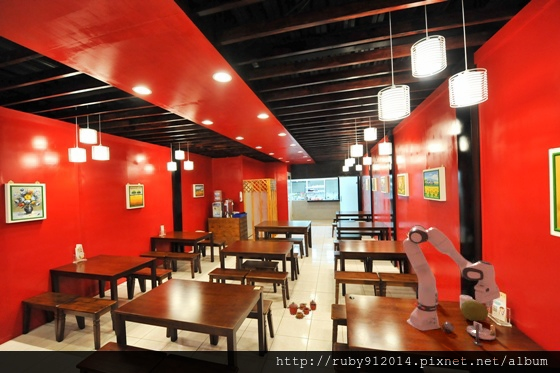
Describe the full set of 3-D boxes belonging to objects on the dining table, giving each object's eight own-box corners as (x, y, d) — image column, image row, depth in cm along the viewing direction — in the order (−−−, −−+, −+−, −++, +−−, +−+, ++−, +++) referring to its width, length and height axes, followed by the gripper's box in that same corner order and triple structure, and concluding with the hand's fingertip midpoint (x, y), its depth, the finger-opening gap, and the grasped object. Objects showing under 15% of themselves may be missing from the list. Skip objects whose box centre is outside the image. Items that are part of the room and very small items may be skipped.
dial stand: (479, 346, 156) (478, 325, 156) (471, 342, 160) (471, 322, 160) (483, 345, 158) (482, 324, 158) (475, 341, 162) (475, 321, 162)
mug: (476, 308, 204) (475, 296, 204) (480, 313, 196) (479, 300, 196) (458, 306, 208) (458, 294, 208) (462, 311, 200) (461, 298, 200)
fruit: (484, 318, 189) (484, 298, 189) (491, 327, 176) (490, 306, 176) (459, 314, 196) (458, 295, 196) (463, 323, 183) (463, 302, 183)
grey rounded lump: (442, 322, 178) (439, 325, 175) (450, 320, 174) (448, 323, 171) (447, 331, 175) (445, 334, 172) (456, 329, 172) (453, 332, 168)
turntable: (486, 342, 158) (485, 331, 159) (461, 330, 172) (461, 319, 172) (500, 336, 164) (500, 325, 164) (475, 325, 178) (475, 315, 178)
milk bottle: (425, 302, 217) (424, 279, 217) (433, 301, 218) (433, 278, 218) (431, 306, 210) (430, 282, 210) (440, 305, 210) (439, 282, 210)
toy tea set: (299, 321, 192) (299, 309, 193) (285, 314, 204) (285, 303, 204) (319, 309, 211) (319, 298, 211) (305, 303, 222) (305, 293, 222)
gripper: (491, 281, 173) (493, 301, 173) (472, 287, 166) (474, 308, 165) (502, 284, 167) (503, 305, 167) (483, 290, 160) (484, 312, 160)
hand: (488, 306), depth 166 cm, fingers closed
